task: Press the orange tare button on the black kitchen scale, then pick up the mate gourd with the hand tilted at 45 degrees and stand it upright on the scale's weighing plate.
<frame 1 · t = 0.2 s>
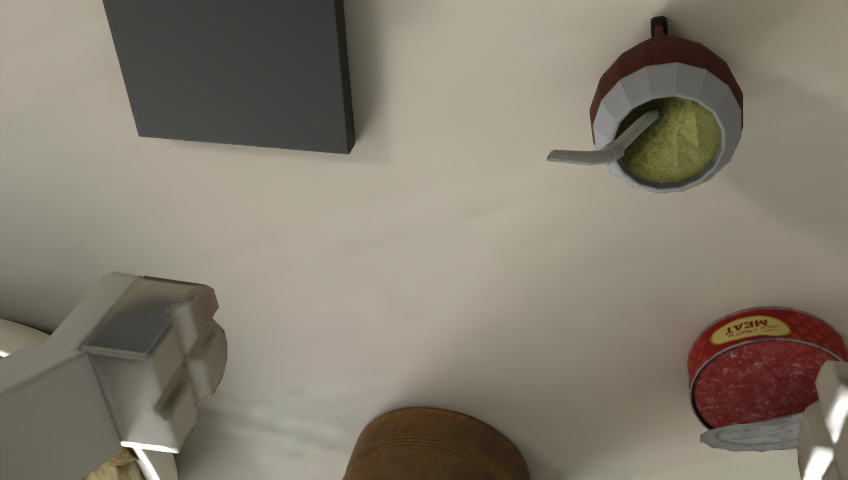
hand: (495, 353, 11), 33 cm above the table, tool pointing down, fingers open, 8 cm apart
canned food: (766, 362, 52), on the table
wooden container: (442, 466, 65), on the table
bowl: (43, 417, 74), on the table
scale: (228, 11, 45), on the table
mate gourd: (653, 68, 42), on the table
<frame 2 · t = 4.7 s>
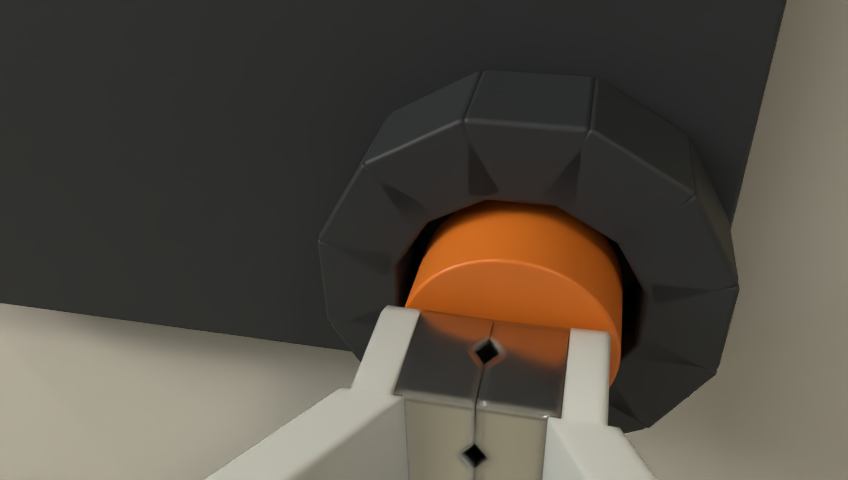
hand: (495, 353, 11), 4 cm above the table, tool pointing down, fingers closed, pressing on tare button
tare button: (514, 312, 11), point 3 cm above the table, slide at -0.2 cm, touching gripper
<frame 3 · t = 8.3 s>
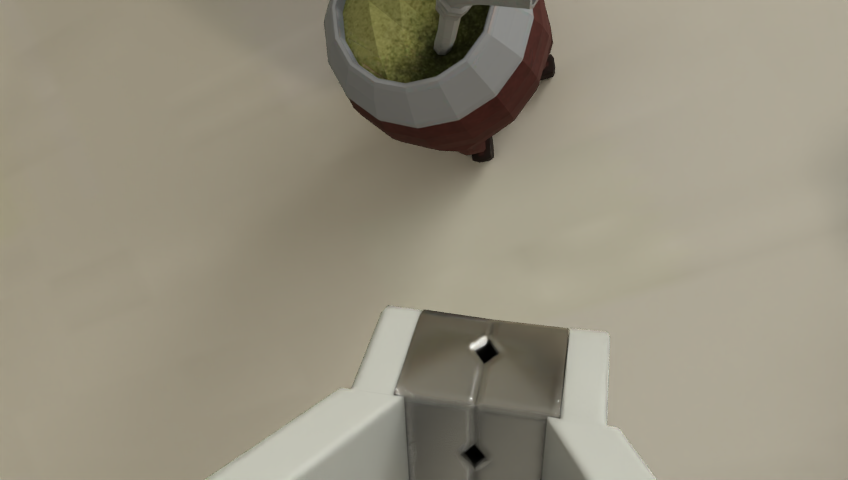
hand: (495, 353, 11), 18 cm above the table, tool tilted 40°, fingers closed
mate gourd: (487, 88, 31), on the table
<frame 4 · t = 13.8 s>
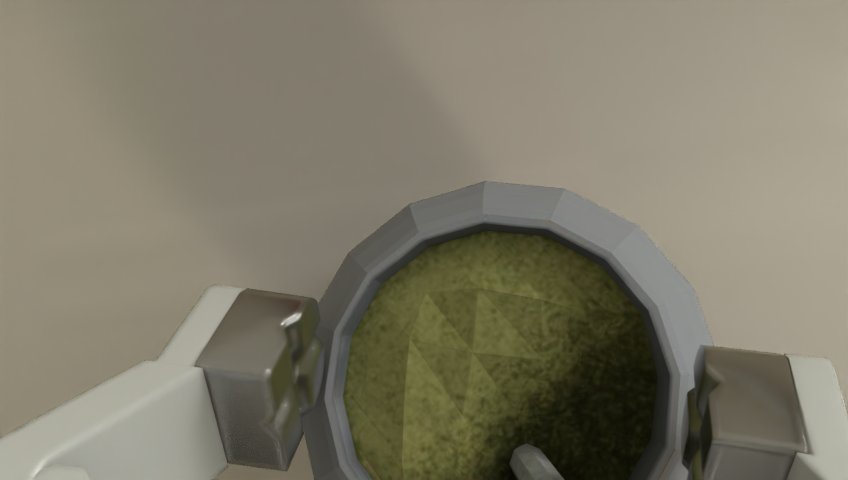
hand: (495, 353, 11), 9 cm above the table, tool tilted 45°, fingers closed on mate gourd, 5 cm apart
mate gourd: (534, 397, 19), on the table, touching gripper
when the fingers open (10 cm above the table, at t = 23.0 s): mate gourd moves 2 cm, point 1 cm above the table.
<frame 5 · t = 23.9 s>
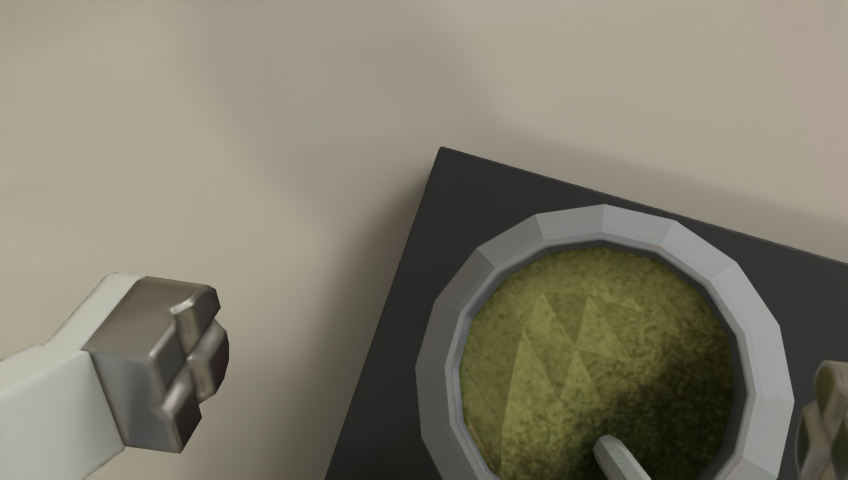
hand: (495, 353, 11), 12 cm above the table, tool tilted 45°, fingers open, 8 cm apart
mate gourd: (611, 405, 21), point 1 cm above the table, touching gripper
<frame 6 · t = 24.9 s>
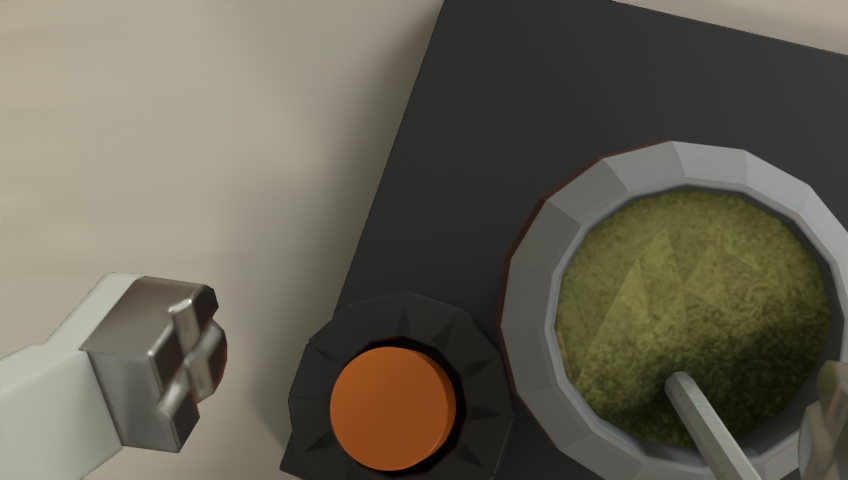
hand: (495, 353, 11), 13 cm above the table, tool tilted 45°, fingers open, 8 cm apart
tare button: (394, 406, 20), point 3 cm above the table, slide at 0.1 cm
scale: (599, 285, 23), on the table
mate gourd: (650, 320, 21), point 2 cm above the table, touching gripper, scale
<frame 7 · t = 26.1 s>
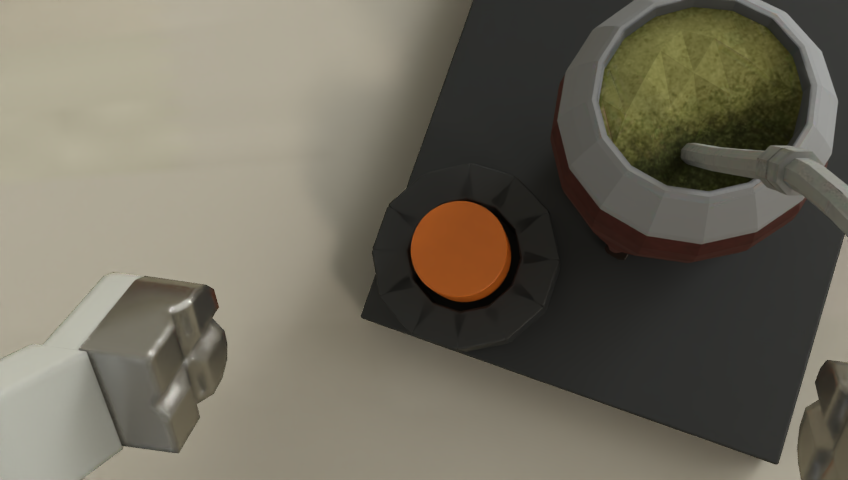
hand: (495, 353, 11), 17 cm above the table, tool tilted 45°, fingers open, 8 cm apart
tare button: (461, 252, 25), point 3 cm above the table, slide at 0.1 cm
scale: (627, 168, 28), on the table
mate gourd: (670, 192, 26), point 1 cm above the table, touching scale
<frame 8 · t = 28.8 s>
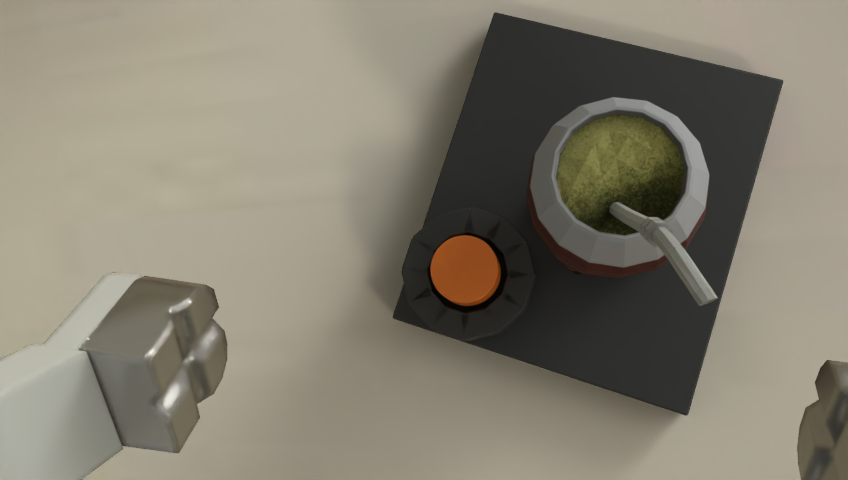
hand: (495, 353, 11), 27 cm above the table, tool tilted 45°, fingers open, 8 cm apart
tare button: (466, 271, 35), point 3 cm above the table, slide at 0.1 cm
scale: (583, 207, 38), on the table
mate gourd: (613, 225, 37), point 1 cm above the table, touching scale
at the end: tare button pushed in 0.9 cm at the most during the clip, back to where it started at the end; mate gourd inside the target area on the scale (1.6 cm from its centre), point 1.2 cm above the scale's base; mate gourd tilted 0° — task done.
